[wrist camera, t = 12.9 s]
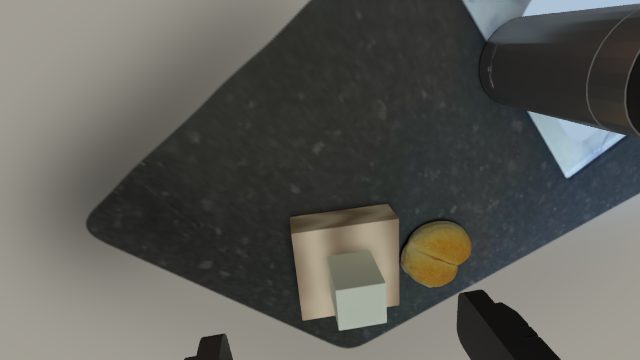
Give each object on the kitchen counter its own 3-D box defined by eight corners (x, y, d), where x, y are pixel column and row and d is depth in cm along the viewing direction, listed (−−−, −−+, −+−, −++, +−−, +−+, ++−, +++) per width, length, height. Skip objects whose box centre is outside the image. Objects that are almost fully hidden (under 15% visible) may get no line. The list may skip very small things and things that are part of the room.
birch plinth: (387, 203, 43) (398, 218, 39) (389, 284, 47) (399, 304, 44) (289, 217, 42) (291, 233, 38) (300, 298, 46) (302, 320, 43)
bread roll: (475, 231, 46) (492, 247, 43) (436, 283, 49) (450, 303, 45) (425, 206, 44) (439, 221, 40) (387, 263, 46) (397, 282, 43)
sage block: (369, 250, 40) (385, 283, 35) (371, 285, 42) (386, 322, 36) (326, 256, 40) (335, 290, 34) (330, 292, 42) (339, 330, 36)
